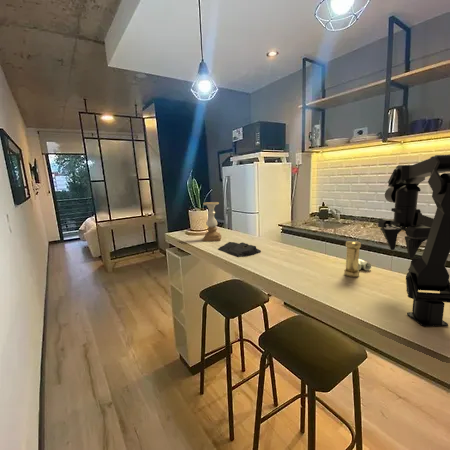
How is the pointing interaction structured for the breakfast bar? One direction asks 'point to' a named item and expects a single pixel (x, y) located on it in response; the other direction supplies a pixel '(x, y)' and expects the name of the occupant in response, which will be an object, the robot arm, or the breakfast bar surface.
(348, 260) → the knob
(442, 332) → the breakfast bar surface
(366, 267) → the pipe fitting
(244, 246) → the dark slate chunk
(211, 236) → the candle holder
